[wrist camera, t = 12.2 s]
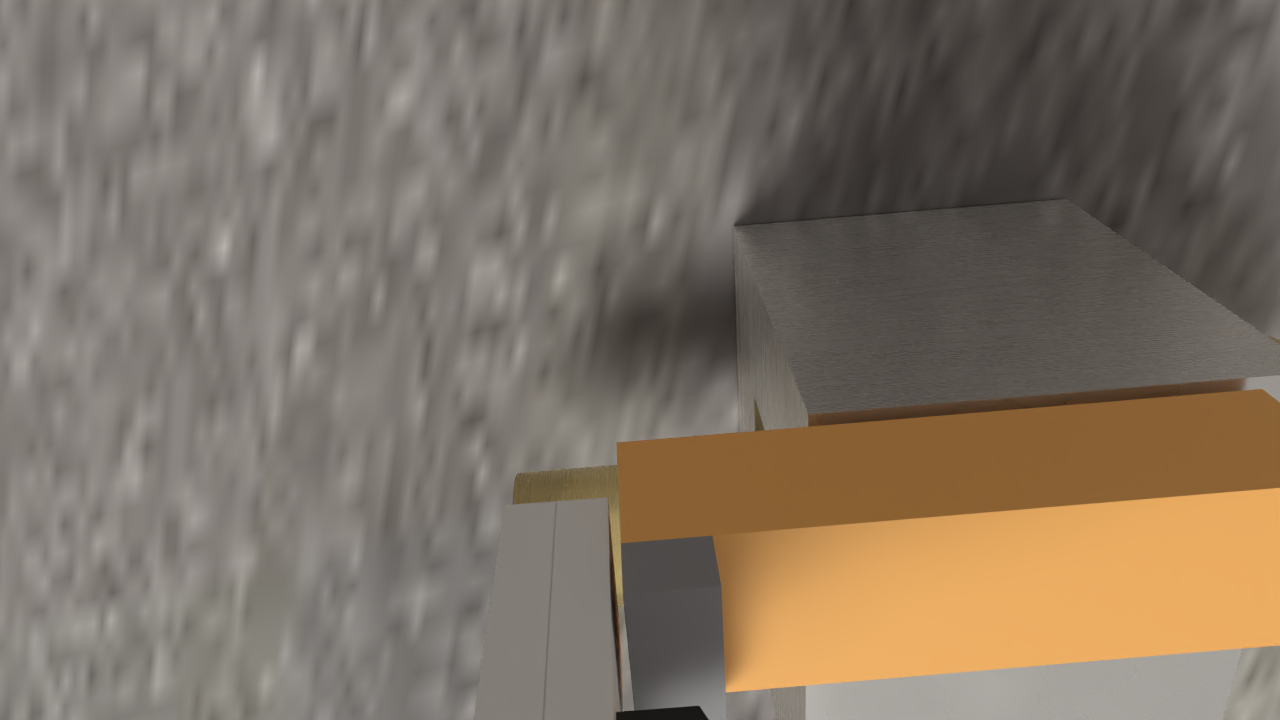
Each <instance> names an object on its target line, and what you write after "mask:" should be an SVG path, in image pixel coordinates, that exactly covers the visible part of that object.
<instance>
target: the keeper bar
mask: <svg viewBox="0 0 1280 720" xmlns="http://www.w3.org/2000/svg"><path fill="white" fill-rule="evenodd" d="M617 464H618V488H619V513H620V538H621V562H622V587H623V601H624V611H625V621H626V631H627V641H628V651H629V661H630V670H631V680H632V690H633V700H634V710H648V709H661V708H674V707H687V706H700V707H701V709H702V710H703V712H704V713H705V715H706V716H707V718H708V719H709V720H727V710H726V692H736V691H748V690H759V689H771V688H783V687H795V686H806V685H818V684H830V683H842V682H853V681H865V680H877V679H889V678H900V677H912V676H924V675H936V674H947V673H959V672H971V671H983V670H994V669H1006V668H1018V667H1030V666H1041V665H1053V664H1065V663H1077V662H1089V661H1100V660H1112V659H1124V658H1136V657H1147V656H1159V655H1171V654H1183V653H1194V652H1206V651H1218V650H1230V649H1241V648H1253V647H1265V646H1277V645H1280V402H1279V401H1277V400H1276V399H1275V398H1273V397H1272V396H1271V395H1269V394H1268V393H1267V392H1266V391H1264V390H1263V389H1255V390H1243V391H1231V392H1219V393H1207V394H1195V395H1183V396H1171V397H1159V398H1147V399H1135V400H1123V401H1111V402H1099V403H1087V404H1075V405H1063V406H1051V407H1039V408H1027V409H1015V410H1003V411H991V412H979V413H967V414H955V415H943V416H931V417H919V418H907V419H895V420H883V421H871V422H859V423H847V424H835V425H823V426H811V427H799V428H787V429H775V430H763V431H751V432H739V433H727V434H715V435H703V436H691V437H679V438H667V439H655V440H643V441H631V442H619V443H617Z"/></svg>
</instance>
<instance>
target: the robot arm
mask: <svg viewBox="0 0 1280 720" xmlns="http://www.w3.org/2000/svg"><path fill="white" fill-rule="evenodd" d="M474 720H709V719H708V718H707V716H706V715H705V713H704V712H703V710H702V709H701V707H700V706H687V707H674V708H661V709H648V710H635V711H623V685H622V657H621V636H620V625H619V614H618V603H617V592H616V581H615V570H614V559H613V548H612V537H611V526H610V514H609V503H608V497H606V498H593V499H579V500H566V501H553V502H539V503H526V504H512V505H504V511H503V518H502V525H501V532H500V539H499V546H498V553H497V560H496V567H495V574H494V581H493V588H492V595H491V602H490V609H489V616H488V624H487V631H486V638H485V645H484V652H483V659H482V666H481V673H480V680H479V687H478V694H477V701H476V708H475V715H474Z"/></svg>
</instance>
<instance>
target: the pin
mask: <svg viewBox="0 0 1280 720" xmlns="http://www.w3.org/2000/svg"><path fill="white" fill-rule="evenodd" d="M1268 337H1269V338H1271V339H1272V340H1273V341H1275V342H1276V343H1278V344H1279V345H1280V340H1278V339H1275V338H1272V337H1270V336H1268ZM606 497H608V503H609V514H610V526H611V537H612V548H613V559H614V570H615V581H616V592H617V603H618V607H623V606H624V601H623V587H622V562H621V538H620V513H619V488H618V465H610V466H598V467H586V468H574V469H562V470H550V471H538V472H526V473H518V474H517V475H516V478H515V483H514V492H513V504H526V503H539V502H553V501H566V500H579V499H593V498H606Z"/></svg>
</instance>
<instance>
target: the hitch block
mask: <svg viewBox="0 0 1280 720" xmlns="http://www.w3.org/2000/svg"><path fill="white" fill-rule="evenodd" d="M733 230H734V265H735V300H736V336H737V371H738V406H739V432H751V431H763V430H775V429H787V428H799V427H811V426H823V425H835V424H847V423H859V422H871V421H883V420H895V419H907V418H919V417H931V416H943V415H955V414H967V413H979V412H991V411H1003V410H1015V409H1027V408H1039V407H1051V406H1063V405H1075V404H1087V403H1099V402H1111V401H1123V400H1135V399H1147V398H1159V397H1171V396H1183V395H1195V394H1207V393H1219V392H1231V391H1243V390H1255V389H1263V390H1264V391H1266V392H1267V393H1268V394H1269V395H1271V396H1272V397H1273V398H1275V399H1276V400H1277V401H1279V402H1280V345H1279V344H1278V343H1276V342H1275V341H1273V340H1272V339H1271V338H1269V337H1268V336H1266V335H1265V334H1263V333H1262V332H1260V331H1259V330H1257V329H1256V328H1254V327H1253V326H1252V325H1250V324H1249V323H1247V322H1246V321H1244V320H1243V319H1241V318H1240V317H1238V316H1237V315H1235V314H1234V313H1233V312H1231V311H1230V310H1228V309H1227V308H1225V307H1224V306H1222V305H1221V304H1219V303H1218V302H1216V301H1215V300H1214V299H1212V298H1211V297H1209V296H1208V295H1206V294H1205V293H1203V292H1202V291H1200V290H1199V289H1197V288H1196V287H1195V286H1193V285H1192V284H1190V283H1189V282H1187V281H1186V280H1184V279H1183V278H1181V277H1180V276H1178V275H1177V274H1176V273H1174V272H1173V271H1171V270H1170V269H1168V268H1167V267H1165V266H1164V265H1162V264H1161V263H1159V262H1158V261H1157V260H1155V259H1154V258H1152V257H1151V256H1149V255H1148V254H1146V253H1145V252H1143V251H1142V250H1140V249H1139V248H1138V247H1136V246H1135V245H1133V244H1132V243H1130V242H1129V241H1127V240H1126V239H1124V238H1123V237H1121V236H1120V235H1119V234H1117V233H1116V232H1114V231H1113V230H1111V229H1110V228H1108V227H1107V226H1105V225H1104V224H1102V223H1101V222H1100V221H1098V220H1097V219H1095V218H1094V217H1092V216H1091V215H1089V214H1088V213H1086V212H1085V211H1083V210H1082V209H1081V208H1079V207H1078V206H1076V205H1075V204H1073V203H1072V202H1070V201H1069V200H1067V199H1059V200H1047V201H1035V202H1023V203H1010V204H998V205H986V206H974V207H962V208H949V209H937V210H925V211H913V212H901V213H888V214H876V215H864V216H852V217H840V218H827V219H815V220H803V221H791V222H779V223H766V224H754V225H742V226H733ZM1241 651H1242V648H1241V649H1230V650H1218V651H1206V652H1194V653H1183V654H1171V655H1159V656H1147V657H1136V658H1124V659H1112V660H1100V661H1089V662H1077V663H1065V664H1053V665H1041V666H1030V667H1018V668H1006V669H994V670H983V671H971V672H959V673H947V674H936V675H924V676H912V677H900V678H889V679H877V680H865V681H853V682H842V683H830V684H818V685H806V686H795V687H783V688H771V691H772V696H773V700H774V705H775V710H776V714H777V719H778V720H1222V719H1223V715H1224V712H1225V708H1226V705H1227V701H1228V697H1229V694H1230V690H1231V687H1232V683H1233V679H1234V676H1235V672H1236V669H1237V665H1238V662H1239V658H1240V654H1241Z"/></svg>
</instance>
